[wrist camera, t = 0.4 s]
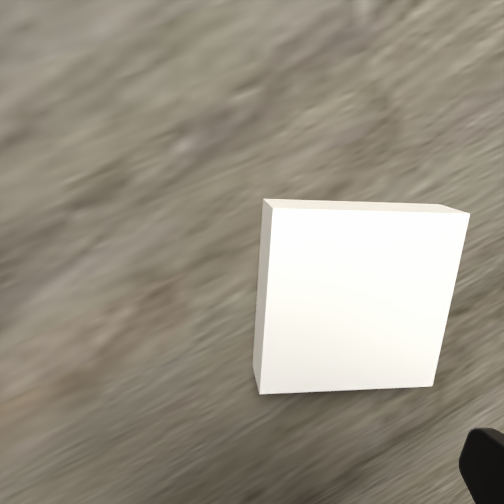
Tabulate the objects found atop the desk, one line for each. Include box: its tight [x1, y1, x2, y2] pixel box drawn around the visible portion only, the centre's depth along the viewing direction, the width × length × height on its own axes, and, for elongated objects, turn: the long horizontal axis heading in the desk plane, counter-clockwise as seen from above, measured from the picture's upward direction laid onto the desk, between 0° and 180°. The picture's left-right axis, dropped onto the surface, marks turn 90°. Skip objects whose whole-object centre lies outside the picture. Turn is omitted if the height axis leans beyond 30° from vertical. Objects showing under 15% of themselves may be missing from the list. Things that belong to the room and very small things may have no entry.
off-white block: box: [253, 199, 470, 394], centre depth 22 cm, size 10×10×3 cm
